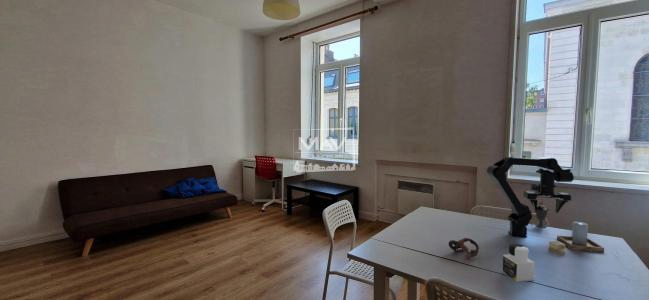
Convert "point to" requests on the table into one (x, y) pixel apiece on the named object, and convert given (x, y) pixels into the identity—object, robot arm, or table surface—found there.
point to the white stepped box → (518, 263)
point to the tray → (590, 246)
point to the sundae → (541, 214)
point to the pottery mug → (461, 245)
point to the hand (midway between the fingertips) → (545, 212)
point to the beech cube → (557, 247)
